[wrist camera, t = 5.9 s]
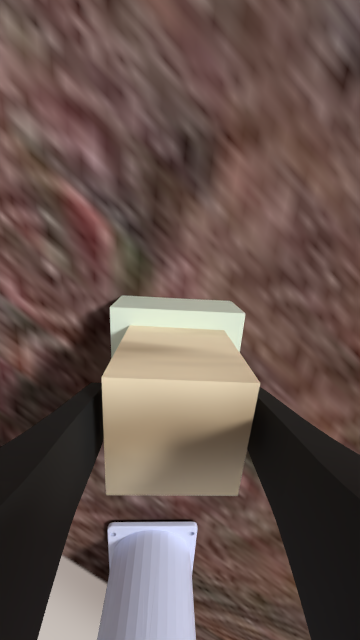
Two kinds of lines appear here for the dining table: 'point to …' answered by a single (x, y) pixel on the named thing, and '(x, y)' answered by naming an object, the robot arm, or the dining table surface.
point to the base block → (175, 316)
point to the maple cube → (176, 413)
